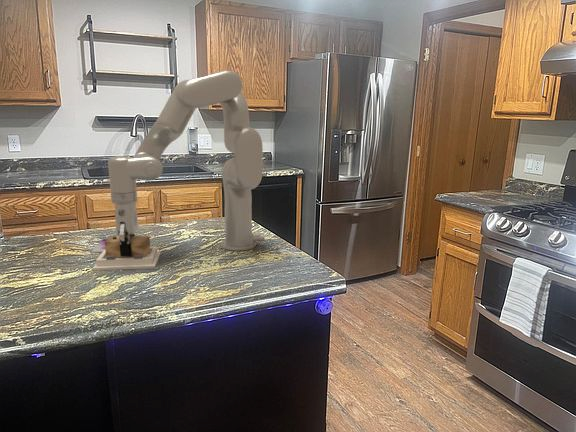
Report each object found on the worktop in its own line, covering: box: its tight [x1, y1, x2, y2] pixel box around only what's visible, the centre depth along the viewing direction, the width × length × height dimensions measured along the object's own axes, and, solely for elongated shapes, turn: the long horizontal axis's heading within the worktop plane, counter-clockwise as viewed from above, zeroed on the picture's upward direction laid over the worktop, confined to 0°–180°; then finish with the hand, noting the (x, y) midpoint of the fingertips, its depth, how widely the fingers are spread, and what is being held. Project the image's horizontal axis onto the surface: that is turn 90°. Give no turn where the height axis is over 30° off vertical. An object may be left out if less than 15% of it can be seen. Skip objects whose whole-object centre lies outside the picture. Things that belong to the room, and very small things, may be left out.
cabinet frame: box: [92, 246, 162, 272], centre depth 136 cm, size 18×14×4 cm
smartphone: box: [89, 238, 108, 254], centre depth 151 cm, size 7×1×15 cm
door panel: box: [105, 235, 151, 257], centre depth 135 cm, size 12×6×6 cm, turn 91°
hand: (128, 251), depth 136 cm, fingers closed on door panel, 6 cm apart
